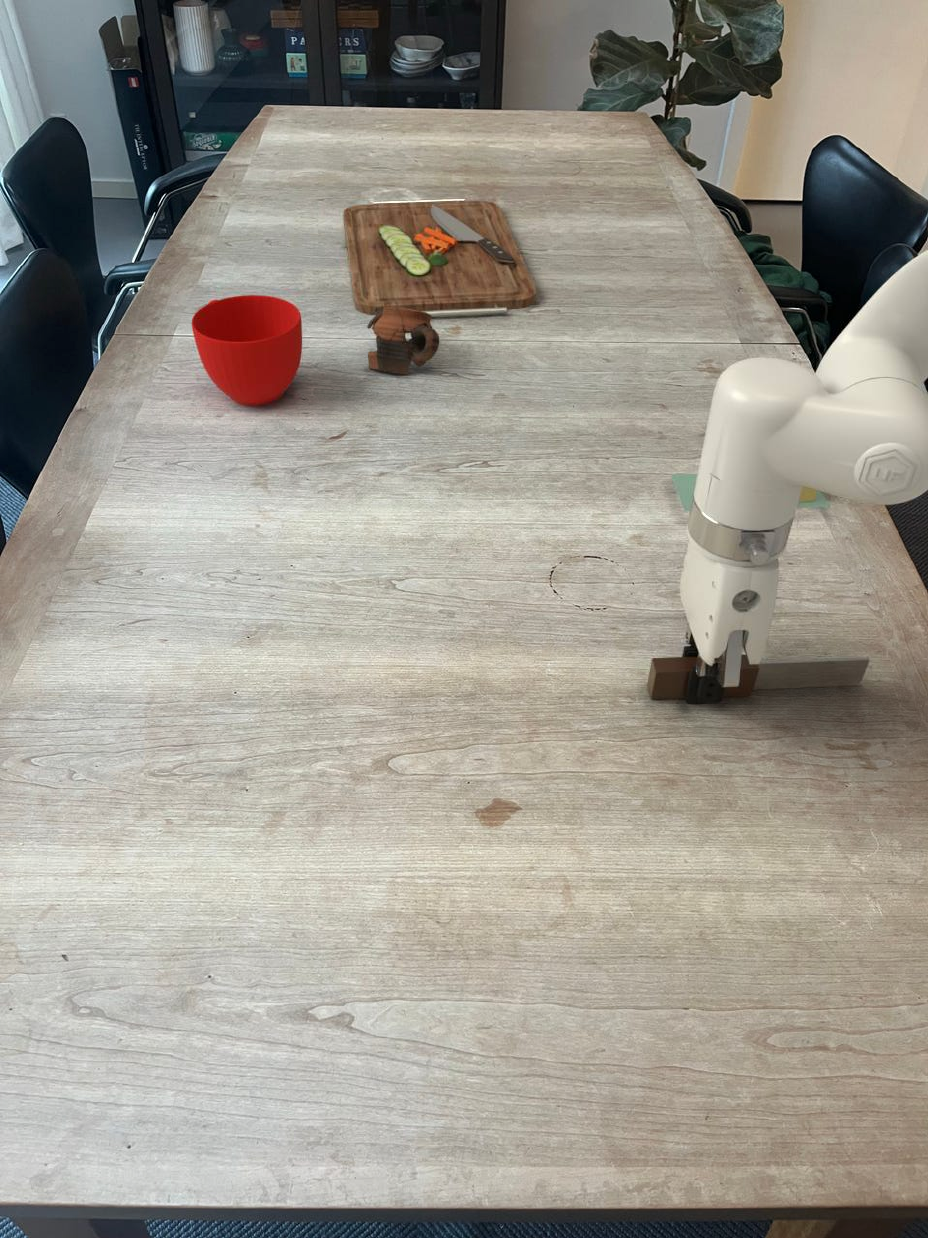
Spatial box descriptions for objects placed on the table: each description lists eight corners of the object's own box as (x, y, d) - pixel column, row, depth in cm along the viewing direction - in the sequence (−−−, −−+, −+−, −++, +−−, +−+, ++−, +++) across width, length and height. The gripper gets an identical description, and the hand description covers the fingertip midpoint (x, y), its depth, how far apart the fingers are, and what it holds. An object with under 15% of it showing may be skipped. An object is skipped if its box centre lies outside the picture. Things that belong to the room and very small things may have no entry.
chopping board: (342, 207, 174) (340, 189, 172) (493, 202, 177) (494, 184, 175) (356, 322, 141) (355, 301, 139) (543, 313, 144) (544, 293, 142)
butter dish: (807, 477, 113) (809, 470, 113) (828, 514, 108) (830, 506, 108) (668, 481, 113) (670, 473, 112) (682, 518, 107) (684, 510, 107)
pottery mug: (348, 367, 132) (355, 302, 131) (398, 375, 139) (405, 314, 138) (412, 374, 125) (420, 306, 123) (462, 382, 132) (470, 318, 130)
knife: (863, 691, 88) (873, 663, 86) (650, 700, 87) (656, 672, 85) (855, 676, 90) (866, 649, 87) (646, 685, 89) (651, 657, 86)
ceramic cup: (263, 347, 135) (254, 275, 129) (327, 398, 125) (321, 323, 118) (174, 373, 129) (159, 300, 123) (233, 430, 119) (221, 353, 113)
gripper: (822, 586, 70) (766, 757, 82) (758, 462, 82) (718, 628, 94) (716, 590, 70) (676, 761, 82) (668, 465, 82) (639, 631, 94)
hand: (699, 689), depth 88 cm, fingers closed on knife, 1 cm apart
